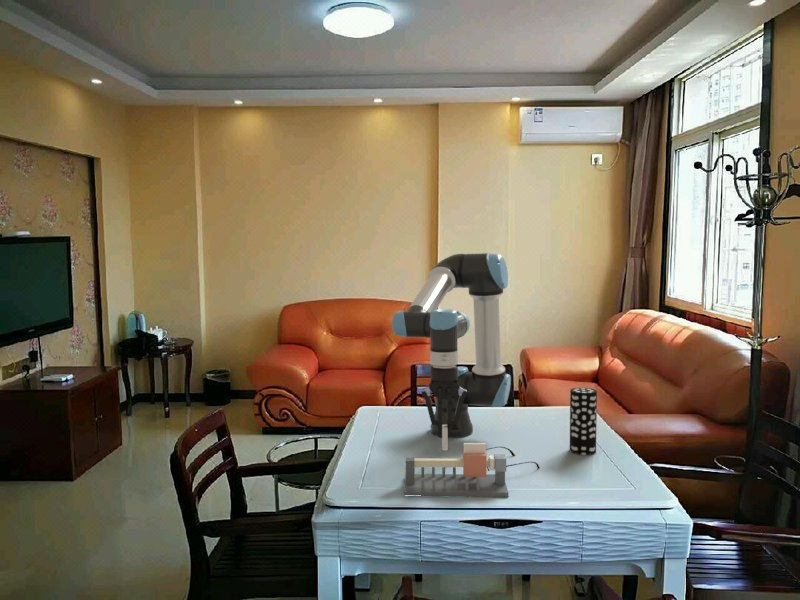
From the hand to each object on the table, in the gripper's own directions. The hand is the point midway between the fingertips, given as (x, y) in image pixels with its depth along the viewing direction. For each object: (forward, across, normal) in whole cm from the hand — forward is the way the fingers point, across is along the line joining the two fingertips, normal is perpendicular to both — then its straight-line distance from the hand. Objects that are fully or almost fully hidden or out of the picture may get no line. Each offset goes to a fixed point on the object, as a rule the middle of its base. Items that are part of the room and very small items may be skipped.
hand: (444, 448), depth 185 cm
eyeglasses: (+12, +19, +18) cm, 28 cm away
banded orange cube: (+7, +8, -1) cm, 11 cm away
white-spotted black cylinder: (+12, +46, +32) cm, 57 cm away
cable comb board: (+11, +3, -1) cm, 11 cm away
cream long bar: (+6, +3, -1) cm, 7 cm away
